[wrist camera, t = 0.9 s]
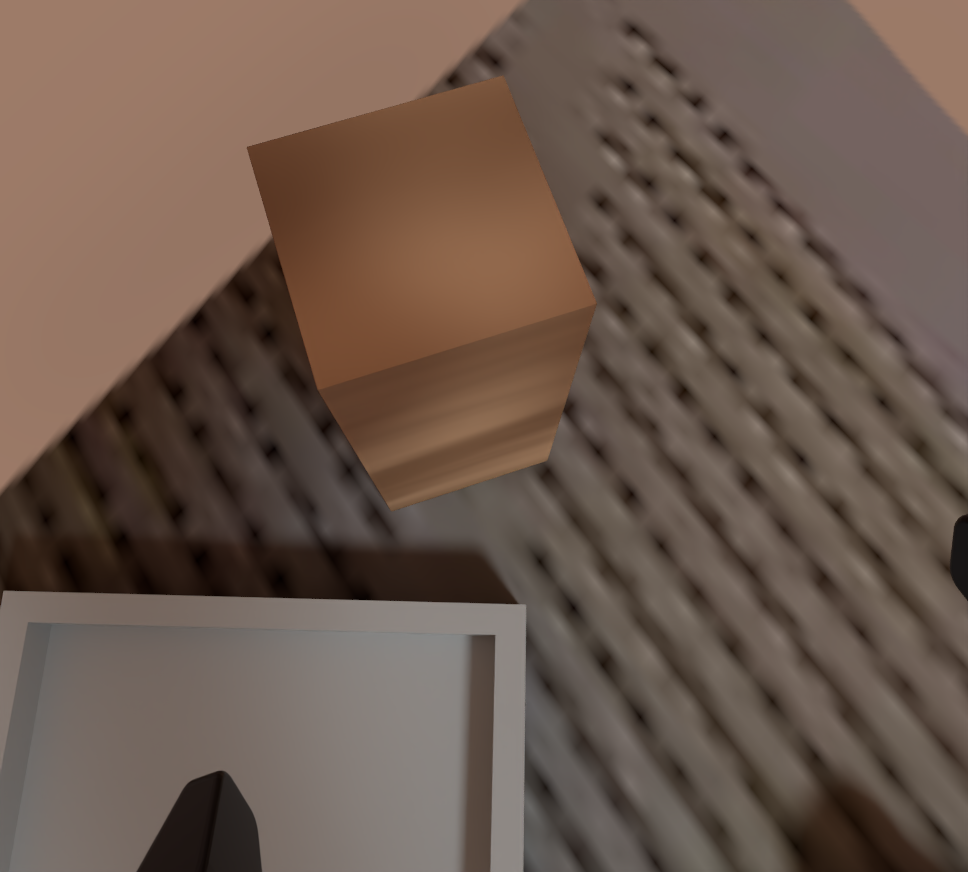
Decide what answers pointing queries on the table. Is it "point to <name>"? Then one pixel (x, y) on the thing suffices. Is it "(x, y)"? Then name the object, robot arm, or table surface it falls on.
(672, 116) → the table surface
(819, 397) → the table surface
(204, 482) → the table surface
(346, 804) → the tray
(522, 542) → the table surface
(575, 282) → the walnut block
